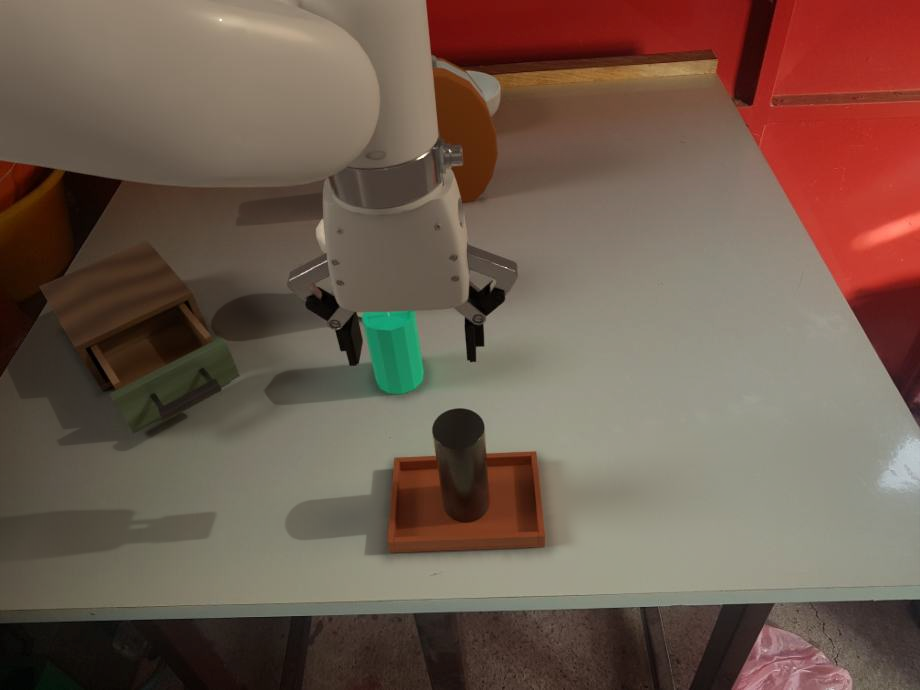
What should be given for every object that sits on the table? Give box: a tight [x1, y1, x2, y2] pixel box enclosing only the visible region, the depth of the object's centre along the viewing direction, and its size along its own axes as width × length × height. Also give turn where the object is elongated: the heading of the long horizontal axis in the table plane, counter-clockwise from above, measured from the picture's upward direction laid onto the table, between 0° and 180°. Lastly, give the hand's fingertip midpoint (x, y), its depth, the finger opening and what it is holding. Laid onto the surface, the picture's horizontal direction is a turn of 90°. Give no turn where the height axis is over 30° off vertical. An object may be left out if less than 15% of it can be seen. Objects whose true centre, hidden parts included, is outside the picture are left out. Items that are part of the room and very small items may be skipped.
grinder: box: [431, 407, 490, 523], centre depth 67 cm, size 5×5×12 cm
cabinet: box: [38, 240, 211, 392], centre depth 92 cm, size 16×15×8 cm
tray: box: [386, 450, 546, 554], centre depth 71 cm, size 15×10×2 cm
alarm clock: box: [431, 54, 499, 204], centre depth 109 cm, size 22×10×23 cm, turn 97°
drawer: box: [90, 303, 241, 434], centre depth 84 cm, size 19×14×6 cm
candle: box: [361, 311, 425, 395], centre depth 81 cm, size 6×6×12 cm
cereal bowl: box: [466, 70, 502, 118], centre depth 132 cm, size 17×17×7 cm
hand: (414, 352), depth 57 cm, fingers open, 9 cm apart
